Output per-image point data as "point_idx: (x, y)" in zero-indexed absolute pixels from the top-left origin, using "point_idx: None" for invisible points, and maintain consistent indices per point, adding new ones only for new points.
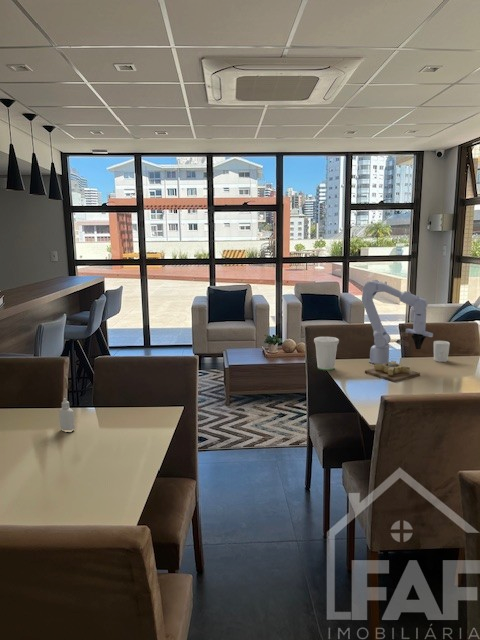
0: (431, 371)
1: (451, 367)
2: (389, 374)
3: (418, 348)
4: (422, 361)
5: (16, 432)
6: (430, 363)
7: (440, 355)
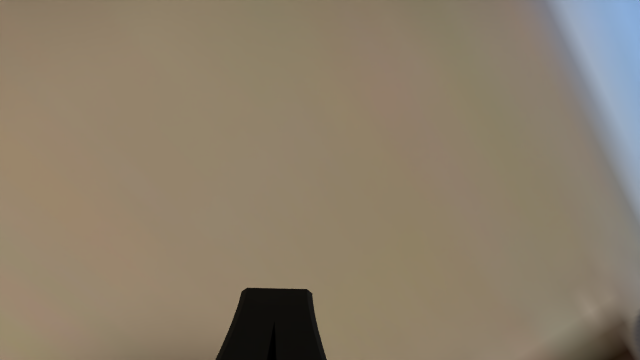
0: (65, 99)
1: (102, 347)
2: None
3: (238, 313)
4: (409, 326)
5: None
6: None
7: None
